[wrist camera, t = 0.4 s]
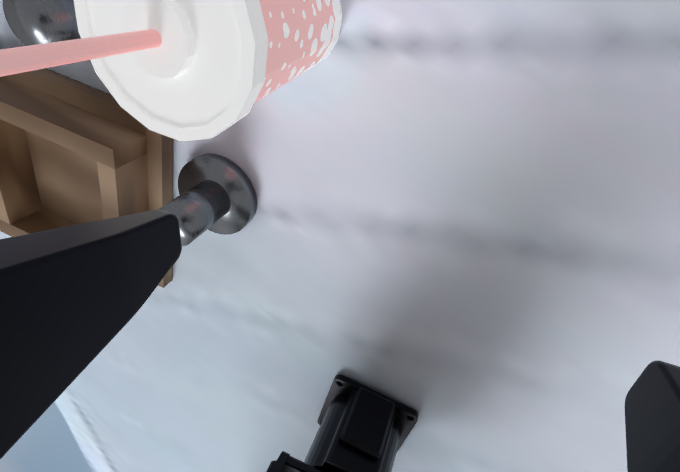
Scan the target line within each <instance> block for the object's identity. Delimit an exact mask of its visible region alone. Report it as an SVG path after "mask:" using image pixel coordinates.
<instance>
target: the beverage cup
mask: <svg viewBox="0 0 680 472" xmlns="http://www.w3.org/2000/svg"><path fill="white" fill-rule="evenodd" d="M74 7H75V13H76V20H77V26H78V32H79V34H80V37H81V39H74V40H66V41H59V42H52V43H44V44H37V45H30V46H22V47H15V48H8V49H0V77H2V76H7V75H12V74H18V73H23V72H28V71H34V70H39V69H44V68H49V67H55V66H60V65H65V64H71V63H76V62H81V61H87V60H90V61H91V63H92V65H93V68H94V70H95V72H96V74H97V75H98V77H99V78H100V79H101V81H102V82H103V83H104V85H105V86H106V88H107V89H108V90H109V92H110V93H111V94H112V96H113V97H114V98H115V100H116V101H117V103H118V104H119V105H120V107H122V108H123V109H124V110H125V111H127V112H128V113H129V114H130V115H132V116H133V117H134V118H135V119H137V120H138V121H139V122H140V123H142V124H143V125H144V126H145V127H147V128H148V129H149V130H151V131H154V132H156V133H159V134H162V135H165V136H167V137H170V138H173V139H176V140H178V141H191V140H203V139H211V138H213V137H215V136H217V135H218V134H219V133H221V132H222V131H224V130H226V129H227V128H229V127H230V126H232V125H233V124H234V123H236V122H237V121H239V120H240V119H242V118H243V117H245V116H246V115H247V114H249V112H250V110H251V108H252V106H253V104H254V103H255V102H257V101H258V100H260V99H261V98H263V97H265V96H266V95H268V94H270V93H271V92H273V91H274V90H276V89H278V88H279V87H281V86H282V85H284V84H286V83H287V82H289V81H291V80H292V79H294V78H295V77H297V76H299V75H300V74H302V73H304V72H305V71H307V70H308V69H310V68H312V67H313V66H315V65H316V64H318V63H319V62H320V61H322V60H323V59H325V58H326V57H328V56H329V54H330V52H331V51H332V49H333V47H334V46H335V44H336V42H337V41H338V39H339V33H340V28H341V22H342V12H341V5H340V0H74Z"/></svg>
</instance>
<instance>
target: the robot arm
mask: <svg viewBox="0 0 680 472" xmlns="http://www.w3.org/2000/svg"><path fill="white" fill-rule="evenodd" d="M181 249H182V244H181V236H180V227H179V220H178V218H177V216H176V215H175V214H173V213H169V212H166V211H163V210H151V211H146V212H141V213H135V214H130V215H125V216H120V217H114V218H109V219H104V220H99V221H94V222H88V223H83V224H78V225H73V226H68V227H62V228H57V229H52V230H47V231H42V232H36V233H31V234H26V235H21V236H16V237H10V238H5V239H0V459H1V458H2V457H3V456H4V455H5V454H6V453H7V451H8V450H9V449H10V448H11V447H12V446H13V445H14V444H15V443H16V442H17V441H18V440H19V438H21V437H22V435H23V434H24V433H25V432H26V431H27V430H28V429H29V428H30V427H31V426H32V425H33V424H34V423H35V421H36V420H37V419H38V418H39V417H40V416H41V415H42V414H43V413H44V412H45V411H46V409H48V407H49V406H50V405H51V404H52V403H53V402H54V401H55V400H56V399H57V398H58V397H59V396H60V395H61V394H62V392H63V391H64V390H65V389H66V388H67V387H68V386H69V385H70V384H71V383H72V382H73V381H74V380H75V379H76V377H77V376H78V375H79V374H80V373H81V372H82V371H83V370H84V369H85V368H86V367H87V366H88V365H89V363H90V362H91V361H92V360H93V359H94V358H95V357H96V356H97V355H98V354H99V353H100V352H101V351H102V349H103V348H104V347H105V346H106V345H107V344H108V343H109V342H110V341H111V340H112V339H113V338H114V337H115V336H116V334H117V333H118V332H119V331H120V330H121V329H122V328H123V327H124V326H125V325H126V324H127V323H128V322H129V320H130V319H131V318H132V317H133V316H134V315H135V314H136V313H137V311H138V310H139V309H140V308H141V306H142V305H143V304H144V303H145V301H146V300H147V299H148V297H149V296H150V295H151V293H152V292H153V291H154V290H155V288H156V287H157V286H158V284H159V283H160V282H161V280H162V279H163V278H164V276H165V275H166V274H167V272H168V271H169V270H170V268H171V267H172V266H173V265H174V263H175V262H176V261H177V259H178V258H179V256H180V253H181ZM417 420H418V413H417V412H416V411H415V410H413V409H411V408H409V407H407V406H405V405H403V404H401V403H399V402H397V401H394V400H392V399H390V398H388V397H386V396H384V395H382V394H380V393H378V392H376V391H374V390H372V389H369V388H367V387H365V386H363V385H361V384H359V383H357V382H355V381H353V380H351V379H349V378H347V377H344V376H342V375H336V376H335V378H334V381H333V383H332V386H331V388H330V391H329V393H328V396H327V398H326V401H325V403H324V406H323V408H322V411H321V413H320V416H319V418H318V424H319V425H320V428H319V430H318V432H317V434H316V437H315V439H314V441H313V443H312V446H311V448H310V450H309V452H308V455H307V457H306V459H305V461H304V462H302V461H300V460H298V459H295V458H293V457H291V456H290V454H288V453H286V452H284V451H282V453H281V454H280V456H279V458H278V459H277V461H272V462H271V464H270V466H269V468H268V470H267V472H391V471H392V467H393V463H394V460H395V456H396V453H397V451H398V450H399V448H400V447H401V445H402V443H403V442H404V440H405V439H406V437H407V436H408V434H409V433H410V431H411V430H412V428H413V427H414V425H415V424H416V422H417ZM625 424H626V446H627V468H628V472H680V367H679V366H675V365H672V364H669V363H665V362H662V361H653V362H651V363H650V364H649V365H648V366H647V367H646V368H645V370H644V371H643V372H642V374H641V375H640V377H639V378H638V379H637V381H636V382H635V383H634V385H633V386H632V387H631V389H630V390H629V392H628V394H627V396H626V399H625Z"/></svg>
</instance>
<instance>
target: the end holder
mask: <svg viewBox="0 0 680 472" xmlns="http://www.w3.org/2000/svg"><path fill="white" fill-rule="evenodd" d="M172 200H173V138H170V137H167V136H165V135H162V134H159V133H156V132H154V131H151V130H149V129H148V128H147V127H145V126H144V125H143V124H142V123H140V122H139V121H138V120H137V119H135V118H134V117H133V116H132V115H130V114H129V113H128V112H127V111H125V110H124V109H123V108H122V107H120V105H119V104H118V103H117V101H116V100H115V98H114V97H113V96H112V95H110V94H107V93H105V92H102V91H100V90H97V89H95V88H92V87H90V86H87V85H85V84H83V83H80V82H78V81H75V80H73V79H70V78H68V77H65V76H63V75H60V74H58V73H56V72H53V71H51V70H48V69H46V68H44V69H39V70H34V71H28V72H23V73H18V74H12V75H7V76H2V77H0V231H1V232H3V233H5V234H8V235H10V236H12V237H16V236H21V235H26V234H31V233H36V232H42V231H47V230H52V229H57V228H62V227H68V226H73V225H78V224H83V223H88V222H94V221H99V220H104V219H109V218H114V217H120V216H125V215H130V214H135V213H141V212H146V211H151V210H158V209H159V208H161V207H162V206H164V205H165V204H167V203H169V202H170V201H172ZM171 281H172V267H171V268H170V270H169V271H168V272H167V274H166V275H165V276H164V278H163V279H162V280H161V282H160V283H159V284H158V285H159V286H161V287H163V288H164V287H165V286H166V285H167V284H168V283H169V282H171Z"/></svg>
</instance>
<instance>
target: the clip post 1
mask: <svg viewBox="0 0 680 472" xmlns="http://www.w3.org/2000/svg"><path fill="white" fill-rule="evenodd" d="M3 9H4V14H5V17H6V20H7V22H8V24H9V26H10V28H11V29H12V31H13V32H14V34H15V35H16V36H17V37H18V38H19V39H20V40H21V41H22V42H23V43H24V44H26V45H28V46H30V45H37V44H44V43H52V42H59V41H66V40H74V39H81V37H80V34H79V32H78V26H77V20H76V13H75V7H74V0H3Z"/></svg>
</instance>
